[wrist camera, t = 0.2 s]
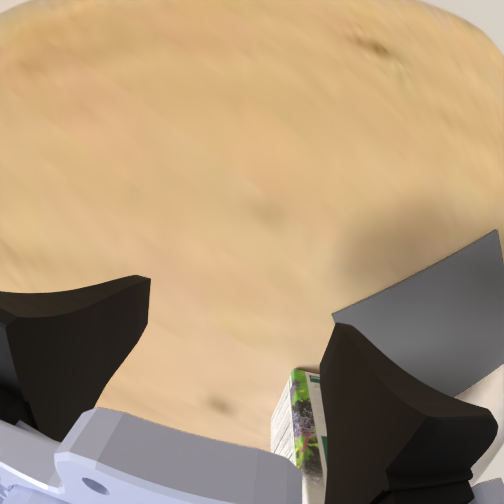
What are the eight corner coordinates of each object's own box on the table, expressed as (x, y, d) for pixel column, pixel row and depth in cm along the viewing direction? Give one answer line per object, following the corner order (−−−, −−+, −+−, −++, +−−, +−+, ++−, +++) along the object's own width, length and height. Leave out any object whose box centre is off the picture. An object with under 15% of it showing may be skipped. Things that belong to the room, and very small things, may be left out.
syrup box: (357, 380, 23) (417, 523, 9) (329, 431, 24) (357, 568, 10) (292, 366, 23) (311, 528, 9) (268, 420, 24) (265, 568, 10)
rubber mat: (374, 434, 24) (375, 436, 24) (331, 313, 22) (332, 315, 22) (508, 357, 22) (509, 358, 22) (495, 229, 20) (497, 229, 20)
